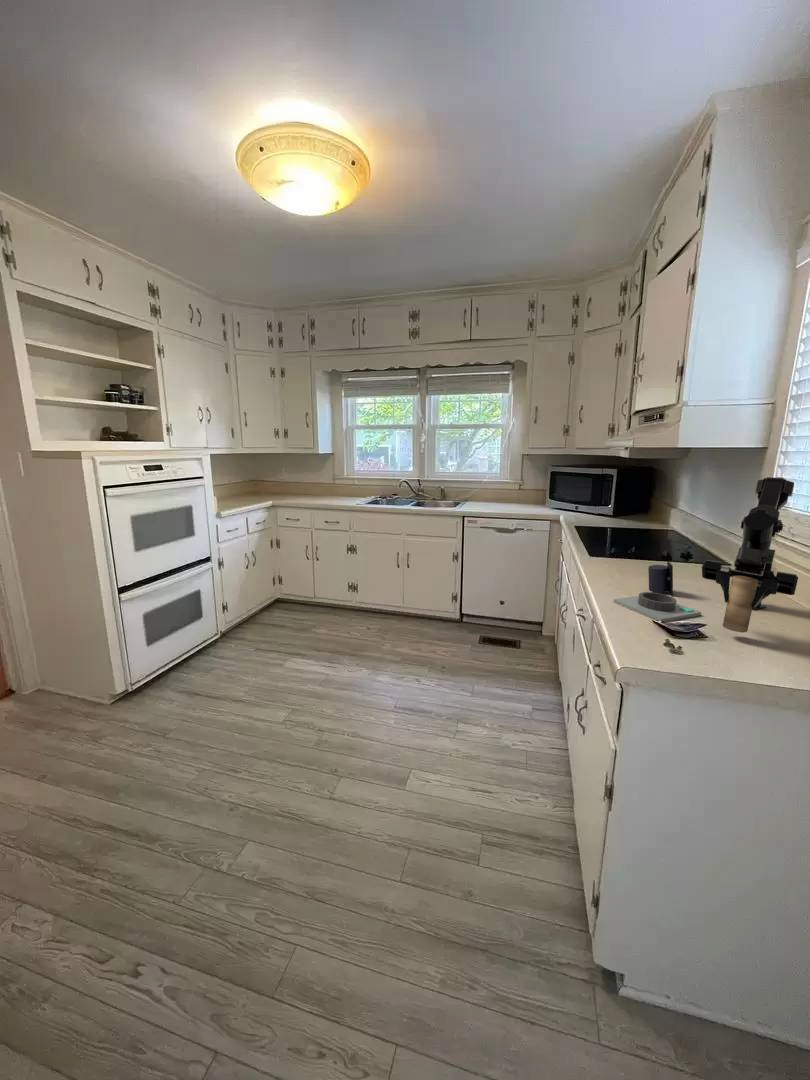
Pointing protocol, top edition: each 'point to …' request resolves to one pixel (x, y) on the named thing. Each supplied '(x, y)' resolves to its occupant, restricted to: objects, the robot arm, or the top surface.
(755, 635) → the top surface
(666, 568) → the speaker
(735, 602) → the plug
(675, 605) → the socket
